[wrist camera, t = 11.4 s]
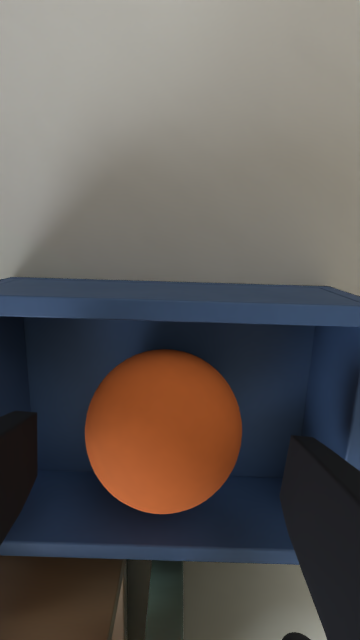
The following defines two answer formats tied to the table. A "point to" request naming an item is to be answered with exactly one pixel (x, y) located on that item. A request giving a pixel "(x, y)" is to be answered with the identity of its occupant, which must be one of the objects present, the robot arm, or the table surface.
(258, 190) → the table surface
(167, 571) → the drawer
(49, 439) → the tray
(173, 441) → the ball
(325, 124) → the table surface
